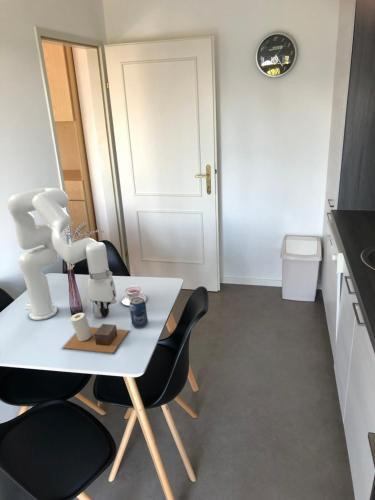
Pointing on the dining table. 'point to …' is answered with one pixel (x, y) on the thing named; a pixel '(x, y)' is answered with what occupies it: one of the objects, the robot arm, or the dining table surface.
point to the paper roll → (81, 326)
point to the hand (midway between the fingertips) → (105, 315)
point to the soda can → (138, 312)
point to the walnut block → (105, 334)
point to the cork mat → (91, 343)
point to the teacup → (132, 294)
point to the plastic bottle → (96, 310)
